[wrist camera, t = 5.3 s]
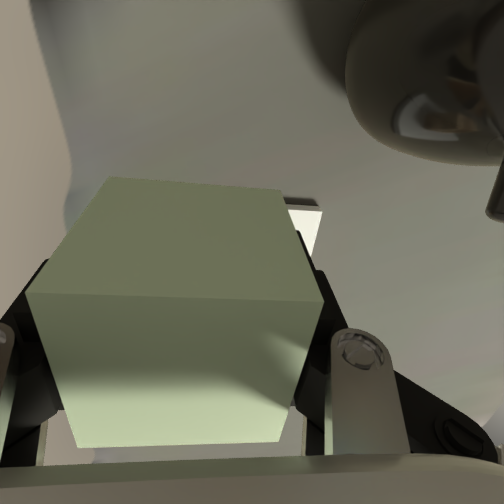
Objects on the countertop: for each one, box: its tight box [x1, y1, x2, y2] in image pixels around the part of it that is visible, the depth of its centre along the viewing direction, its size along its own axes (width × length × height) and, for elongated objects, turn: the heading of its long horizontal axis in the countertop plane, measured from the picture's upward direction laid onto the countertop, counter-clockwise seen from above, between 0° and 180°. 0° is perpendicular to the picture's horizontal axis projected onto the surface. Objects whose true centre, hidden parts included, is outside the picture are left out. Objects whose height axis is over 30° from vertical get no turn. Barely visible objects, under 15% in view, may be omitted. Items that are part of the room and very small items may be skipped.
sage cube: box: [25, 176, 324, 448], centre depth 9 cm, size 5×5×5 cm
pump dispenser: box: [345, 0, 504, 223], centre depth 15 cm, size 10×10×15 cm
